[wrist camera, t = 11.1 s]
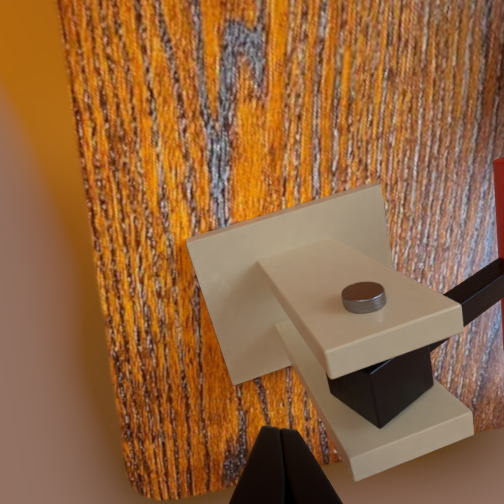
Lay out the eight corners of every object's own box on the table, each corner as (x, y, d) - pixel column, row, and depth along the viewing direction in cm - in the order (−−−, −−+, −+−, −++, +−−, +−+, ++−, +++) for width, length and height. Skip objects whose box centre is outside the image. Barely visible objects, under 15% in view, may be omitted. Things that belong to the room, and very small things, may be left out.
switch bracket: (370, 183, 20) (558, 206, 10) (391, 318, 23) (559, 445, 13) (185, 238, 19) (188, 328, 9) (230, 374, 22) (272, 564, 12)
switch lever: (492, 156, 16) (556, 150, 14) (502, 339, 19) (557, 357, 17) (294, 244, 12) (346, 255, 10) (347, 470, 15) (396, 517, 12)
